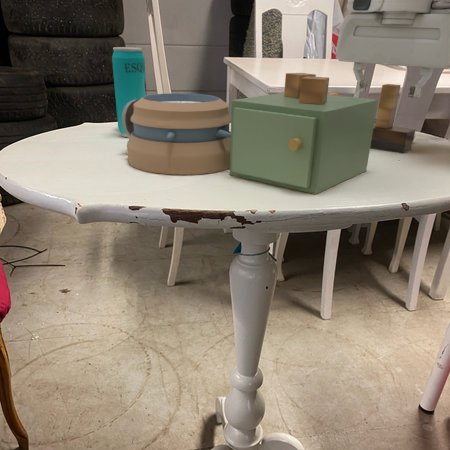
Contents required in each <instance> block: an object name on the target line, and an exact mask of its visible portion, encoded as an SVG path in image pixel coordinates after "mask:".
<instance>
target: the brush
mask: <svg viewBox="0 0 450 450" xmlns="http://www.w3.org/2000/svg"><path fill="white" fill-rule="evenodd" d="M380 91H381V92H380V98H379V101H378V107H377V113H376V119H375V123H374V128H373V134H372V140H371V146H370V149H373V150H381V151H385V152H386V151H387V152H392V153H393V152H394V153H398V152H399V153H398V154H404V153H407V152H409V151H411V150H412V146H413V141H414V139H415V134H416V129H414V128H409V127H400V126H394V123H395V117H396V113H397V112H396V111H397V107H398V102H399V96H400V91H401V84H393V83H385V84H382V86H381V90H380Z"/></svg>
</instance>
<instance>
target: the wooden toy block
mask: <svg viewBox="0 0 450 450" xmlns="http://www.w3.org/2000/svg"><path fill="white" fill-rule="evenodd" d="M307 76H311V77H317V75H316V74H315V73H308V72H307V73H306V72H285V79H284V90H283V91H284V92H283V93H284V96H285V97H291V98H296V99H300V88H301V78H303V77H307Z"/></svg>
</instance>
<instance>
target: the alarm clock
mask: <svg viewBox="0 0 450 450" xmlns="http://www.w3.org/2000/svg"><path fill="white" fill-rule="evenodd" d="M229 107H230V106H229V103H227V102H226V101H225V100H223V99H221V98H220V97H218V96H215V95H211V94H202V93H190V92H189V93H182V92H175V93H173V92H169V93H168V92H167V93H154V94H147V96H144V97H142V98H141V99H140V100H132V101H130V102H128V103H127V105H126V106H125V107H124V109H123V112H122V125H123V128H124V130H125V132H126V133H127V134H128V135H129V136H131V137H130V138H128V141H127V142H126V154H127V161H128V164H129V165H130V166H132V167H133V168H134V169H137V170H140V171H144V172H148V173H155V174H162V175H174V176H176V175H178V176H187V175H191V174H192V175H203V174H204V175H205V174H211V173H212V174H213V173H217V172H222V171H226V170H228V169H230V143H231V130H230V125H231V113H230V112H229V111H230V110H229Z"/></svg>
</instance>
